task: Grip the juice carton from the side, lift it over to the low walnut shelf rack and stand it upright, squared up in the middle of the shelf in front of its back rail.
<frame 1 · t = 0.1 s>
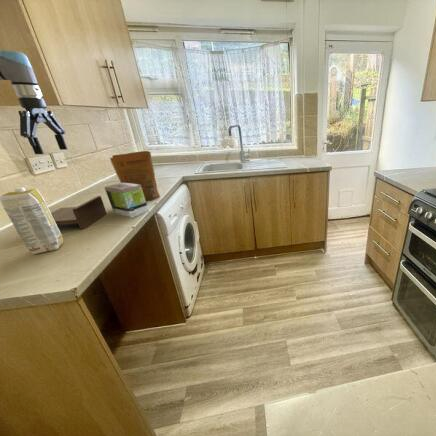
hand: (52, 151, 106), 33 cm above the countertop, tool pointing down, fingers open, 13 cm apart
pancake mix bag: (145, 201, 144), on the countertop
shelf: (74, 222, 116), on the countertop
tea box: (131, 213, 127), on the countertop
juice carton: (49, 248, 94), on the countertop
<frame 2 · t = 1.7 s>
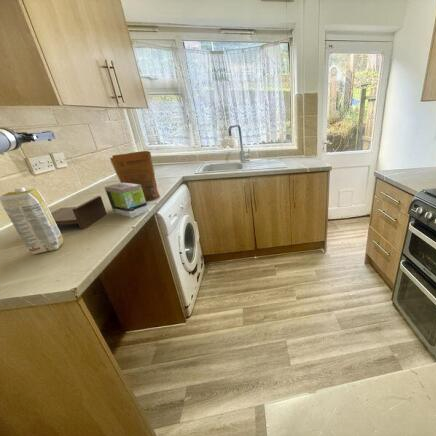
hand: (28, 135, 97), 40 cm above the countertop, tool horizontal, fingers open, 13 cm apart
nothing on the countertop moved.
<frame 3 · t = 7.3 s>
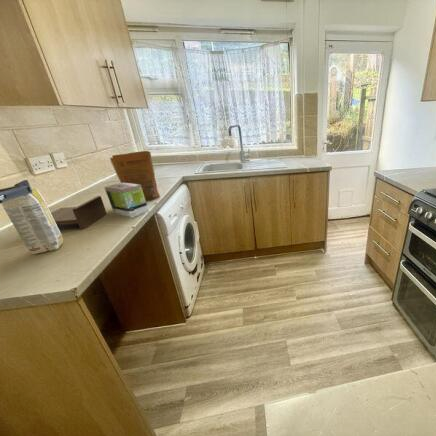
nothing on the countertop moved.
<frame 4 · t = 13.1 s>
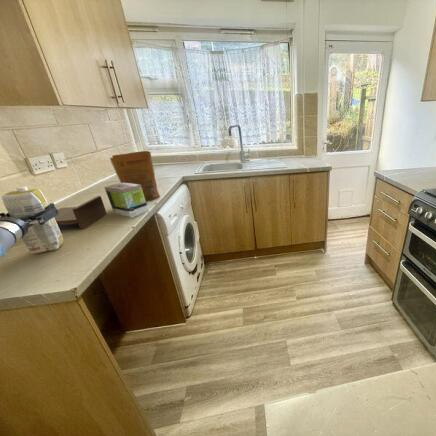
hand: (36, 208, 92), 15 cm above the countertop, tool horizontal, fingers closed on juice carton, 9 cm apart
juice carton: (48, 248, 94), on the countertop, touching gripper
everything else where it was.
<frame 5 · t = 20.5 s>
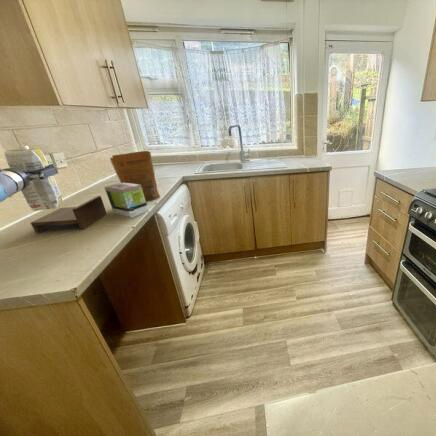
hand: (36, 168, 96), 28 cm above the countertop, tool horizontal, fingers closed on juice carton, 9 cm apart
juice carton: (49, 207, 99), point 13 cm above the countertop, touching gripper
everything else where it was.
when the fingers open (20 cm above the countertop, at t = 28.1 s): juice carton stays where it is, resting on shelf.
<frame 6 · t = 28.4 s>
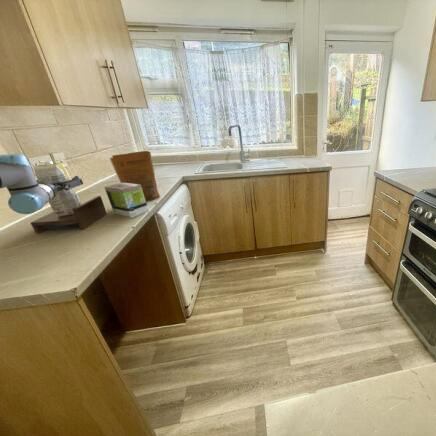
hand: (59, 180, 111), 20 cm above the countertop, tool horizontal, fingers open, 13 cm apart
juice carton: (70, 213, 114), point 5 cm above the countertop, touching shelf
everything else where it was.
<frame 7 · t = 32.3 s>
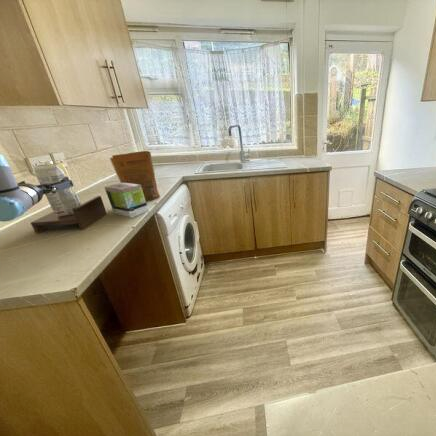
hand: (47, 182, 100), 22 cm above the countertop, tool horizontal, fingers open, 13 cm apart
nothing on the countertop moved.
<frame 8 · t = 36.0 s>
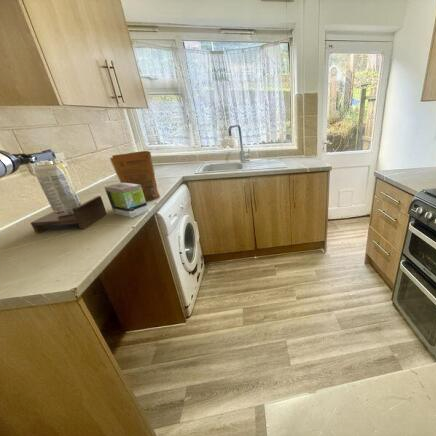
hand: (27, 154, 90), 34 cm above the countertop, tool horizontal, fingers open, 13 cm apart
nothing on the countertop moved.
at the end: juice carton inside the target area on the shelf (0.1 cm from its centre), point 4.9 cm above the shelf's base; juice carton tilted 0°; the gripper is holding nothing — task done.
